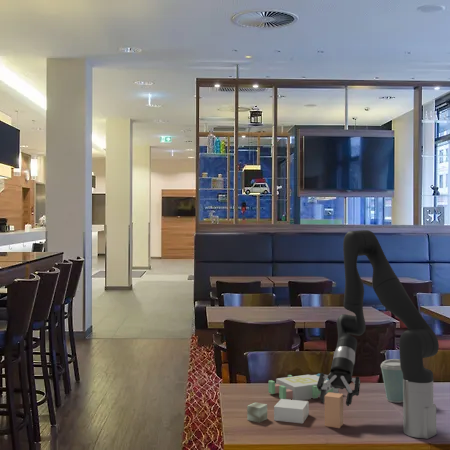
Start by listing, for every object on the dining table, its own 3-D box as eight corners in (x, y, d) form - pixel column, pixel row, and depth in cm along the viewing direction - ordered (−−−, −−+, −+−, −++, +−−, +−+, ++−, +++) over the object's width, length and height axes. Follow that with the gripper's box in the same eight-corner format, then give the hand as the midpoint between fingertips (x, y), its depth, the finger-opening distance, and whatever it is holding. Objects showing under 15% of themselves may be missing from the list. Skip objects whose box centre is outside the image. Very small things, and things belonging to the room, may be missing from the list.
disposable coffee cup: (399, 406, 214) (399, 365, 214) (375, 400, 222) (374, 361, 222) (415, 400, 221) (414, 361, 221) (390, 395, 229) (390, 357, 229)
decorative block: (316, 369, 246) (345, 380, 227) (316, 385, 245) (345, 397, 227) (263, 376, 235) (288, 388, 217) (263, 392, 235) (288, 405, 217)
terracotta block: (343, 423, 195) (343, 393, 195) (339, 428, 190) (339, 397, 190) (328, 421, 197) (328, 392, 197) (324, 426, 192) (324, 395, 192)
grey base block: (308, 415, 204) (308, 401, 204) (302, 424, 195) (302, 409, 195) (281, 412, 208) (281, 398, 208) (274, 421, 198) (274, 406, 198)
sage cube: (267, 419, 200) (267, 404, 200) (259, 422, 196) (259, 408, 196) (255, 416, 203) (255, 402, 203) (247, 420, 199) (247, 405, 199)
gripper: (321, 354, 206) (312, 394, 196) (361, 358, 200) (354, 400, 189) (325, 366, 211) (316, 406, 200) (365, 370, 204) (357, 411, 194)
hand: (334, 403), depth 195 cm, fingers open, 8 cm apart
